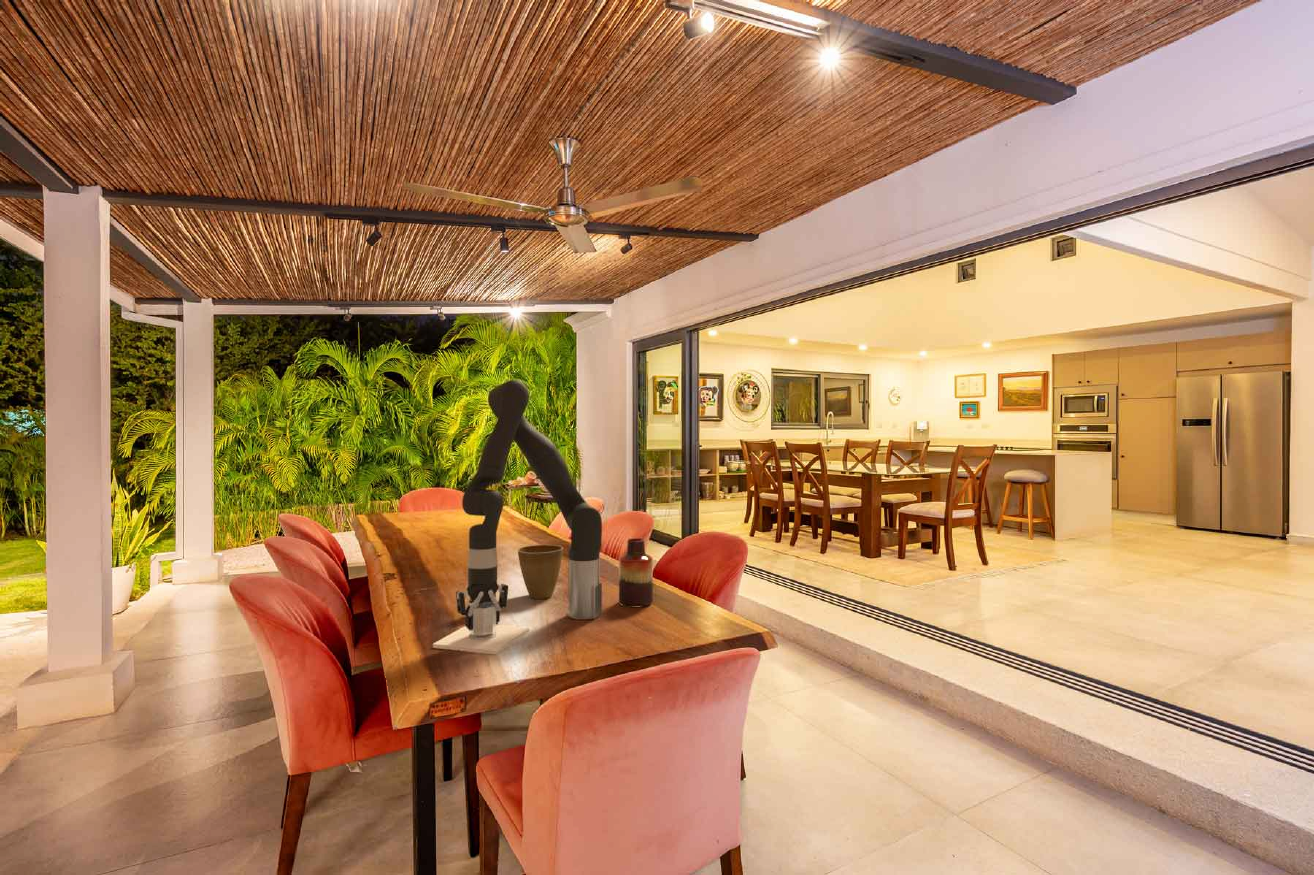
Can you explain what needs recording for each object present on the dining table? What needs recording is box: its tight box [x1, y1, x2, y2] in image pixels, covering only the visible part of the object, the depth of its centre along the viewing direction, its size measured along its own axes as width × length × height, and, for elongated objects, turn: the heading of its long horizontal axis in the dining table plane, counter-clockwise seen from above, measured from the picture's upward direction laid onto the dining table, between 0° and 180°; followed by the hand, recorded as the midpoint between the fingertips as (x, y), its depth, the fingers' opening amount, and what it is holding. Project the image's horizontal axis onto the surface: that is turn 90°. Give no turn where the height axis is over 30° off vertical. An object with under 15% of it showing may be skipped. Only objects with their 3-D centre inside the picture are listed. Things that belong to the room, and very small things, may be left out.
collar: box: [469, 602, 496, 635], centre depth 167 cm, size 6×6×7 cm
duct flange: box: [432, 624, 530, 655], centre depth 168 cm, size 18×18×6 cm
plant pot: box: [517, 544, 564, 600], centre depth 210 cm, size 15×15×16 cm
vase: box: [618, 537, 654, 607], centre depth 202 cm, size 11×11×20 cm
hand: (482, 626), depth 167 cm, fingers closed on collar, 6 cm apart
